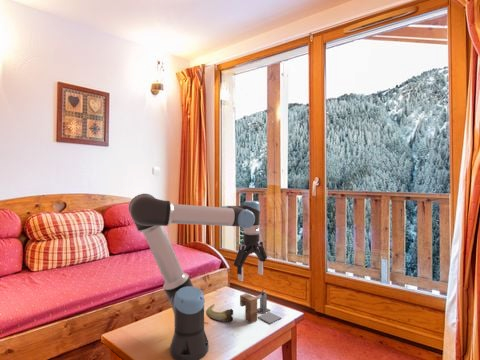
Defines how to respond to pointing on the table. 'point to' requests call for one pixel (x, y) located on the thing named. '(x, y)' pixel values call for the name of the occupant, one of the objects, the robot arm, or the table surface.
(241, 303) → the grey lever handle
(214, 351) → the table surface
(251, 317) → the tan brick
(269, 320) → the mat
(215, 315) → the claw
